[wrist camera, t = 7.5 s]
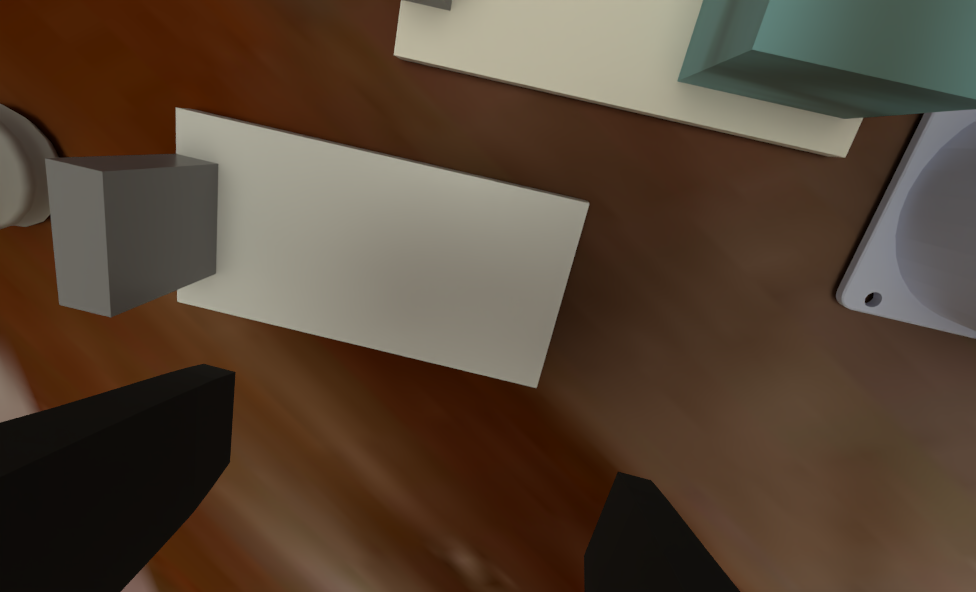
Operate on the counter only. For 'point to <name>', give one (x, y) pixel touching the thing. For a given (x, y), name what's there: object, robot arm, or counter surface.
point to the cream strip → (603, 62)
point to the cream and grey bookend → (320, 243)
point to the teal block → (838, 54)
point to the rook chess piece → (23, 171)
